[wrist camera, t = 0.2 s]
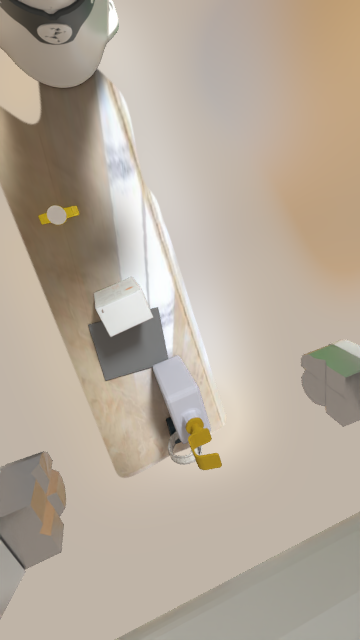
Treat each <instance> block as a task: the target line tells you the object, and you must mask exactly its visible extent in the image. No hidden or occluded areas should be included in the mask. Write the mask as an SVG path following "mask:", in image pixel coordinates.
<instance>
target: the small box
mask: <svg viewBox="0 0 360 640" xmlns="http://www.w3.org/2000/svg"><path fill="white" fill-rule="evenodd" d="M94 299H95V309H96V311H97V313H98V315H99V317H100V319H101V320H102V322H103V324H104V326H105V328H106V330H107V332H108V334H109V335H110V337H112V336H114V335H117V334H119V333H121V332H123V331H125V330H127V329H129V328H132V327H134V326H136V325H138V324H140V323H143V322H145V321H147V320H149V319H151V318H153V315H152V313H151V310H150V308H149V305H148V303H147V301H146V298H145V296H144V294H143V291H142V289H141V288H140V286H139V285H138V284H137V282H136V281H135V280H134V278H133V277H130V278H127V279H125V280H123V281H121V282H118V283H116V284H114V285H111V286H109V287H107V288H104V289H102V290H100V291H97V292H95V293H94Z"/></svg>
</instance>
